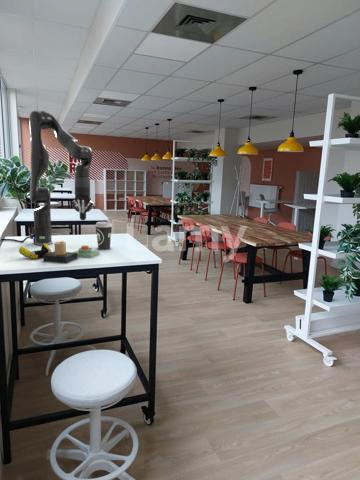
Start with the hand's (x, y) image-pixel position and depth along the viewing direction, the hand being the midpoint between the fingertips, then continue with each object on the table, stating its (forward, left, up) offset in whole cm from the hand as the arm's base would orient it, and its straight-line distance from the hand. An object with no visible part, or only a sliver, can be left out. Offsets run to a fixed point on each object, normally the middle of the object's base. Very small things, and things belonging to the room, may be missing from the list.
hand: (83, 219), depth 176 cm
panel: (-4, -16, -18) cm, 24 cm away
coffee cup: (+4, +15, -18) cm, 24 cm away
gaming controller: (-18, -14, -18) cm, 29 cm away
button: (+2, -3, -15) cm, 15 cm away
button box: (+2, -3, -18) cm, 18 cm away
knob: (-4, -16, -15) cm, 22 cm away
